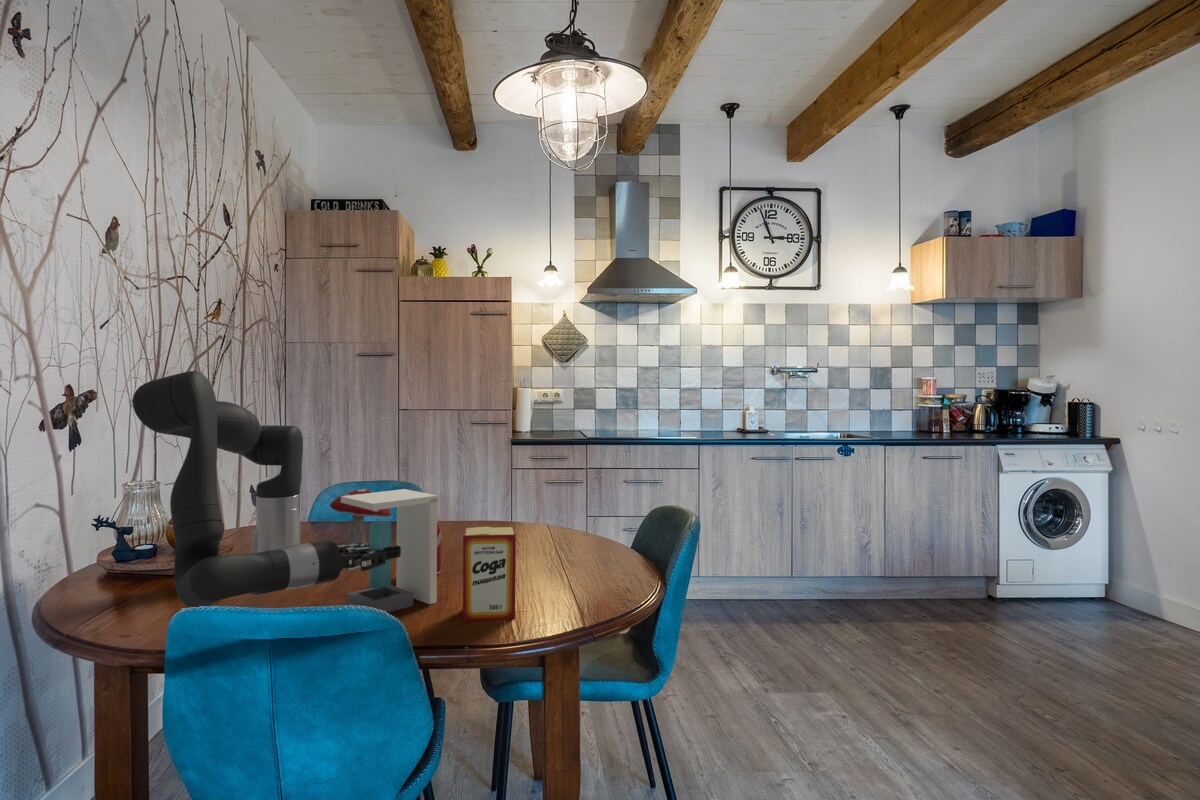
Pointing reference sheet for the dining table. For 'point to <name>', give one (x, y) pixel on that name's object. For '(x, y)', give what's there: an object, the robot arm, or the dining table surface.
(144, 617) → the dining table surface
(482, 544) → the baking soda box
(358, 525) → the decorative mushroom
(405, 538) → the awning socket
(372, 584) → the peg
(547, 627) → the dining table surface
